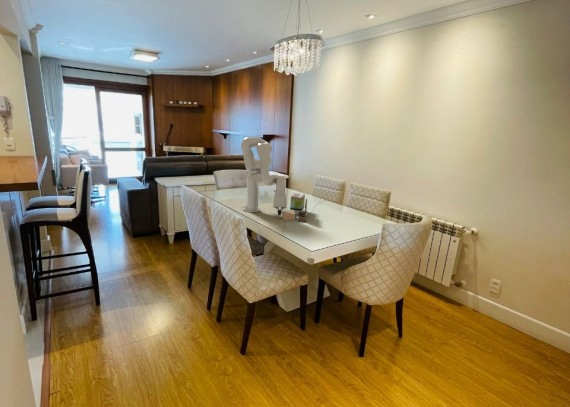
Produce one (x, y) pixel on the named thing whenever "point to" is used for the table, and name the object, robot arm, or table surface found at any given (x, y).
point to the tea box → (297, 203)
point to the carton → (288, 214)
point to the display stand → (303, 214)
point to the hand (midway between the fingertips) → (279, 214)
